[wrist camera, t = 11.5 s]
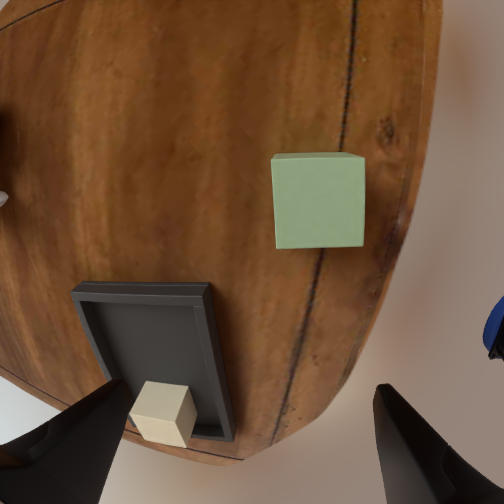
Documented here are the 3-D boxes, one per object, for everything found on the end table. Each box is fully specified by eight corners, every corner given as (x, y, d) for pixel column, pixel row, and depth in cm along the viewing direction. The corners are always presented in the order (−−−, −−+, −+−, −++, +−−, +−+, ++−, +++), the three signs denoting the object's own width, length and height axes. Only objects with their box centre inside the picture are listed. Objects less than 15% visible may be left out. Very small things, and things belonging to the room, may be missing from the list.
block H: (197, 414, 26) (187, 448, 22) (158, 408, 27) (144, 440, 23) (188, 385, 25) (174, 422, 21) (146, 380, 25) (128, 413, 21)
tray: (236, 427, 27) (233, 442, 26) (138, 414, 29) (132, 426, 27) (209, 281, 21) (202, 296, 19) (82, 280, 22) (69, 291, 21)
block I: (347, 221, 18) (363, 246, 14) (278, 223, 19) (276, 249, 15) (347, 152, 17) (365, 157, 13) (274, 153, 17) (270, 159, 13)
